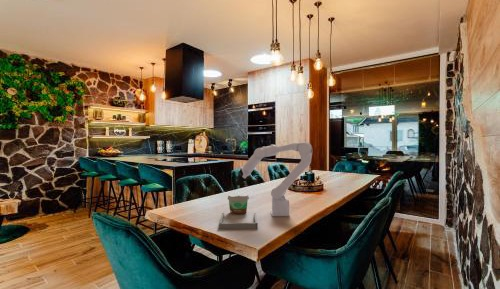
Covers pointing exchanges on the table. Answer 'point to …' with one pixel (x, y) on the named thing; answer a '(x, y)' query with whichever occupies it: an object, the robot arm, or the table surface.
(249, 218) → the table surface
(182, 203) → the table surface
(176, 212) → the table surface
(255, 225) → the dock
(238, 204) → the food container
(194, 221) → the table surface
